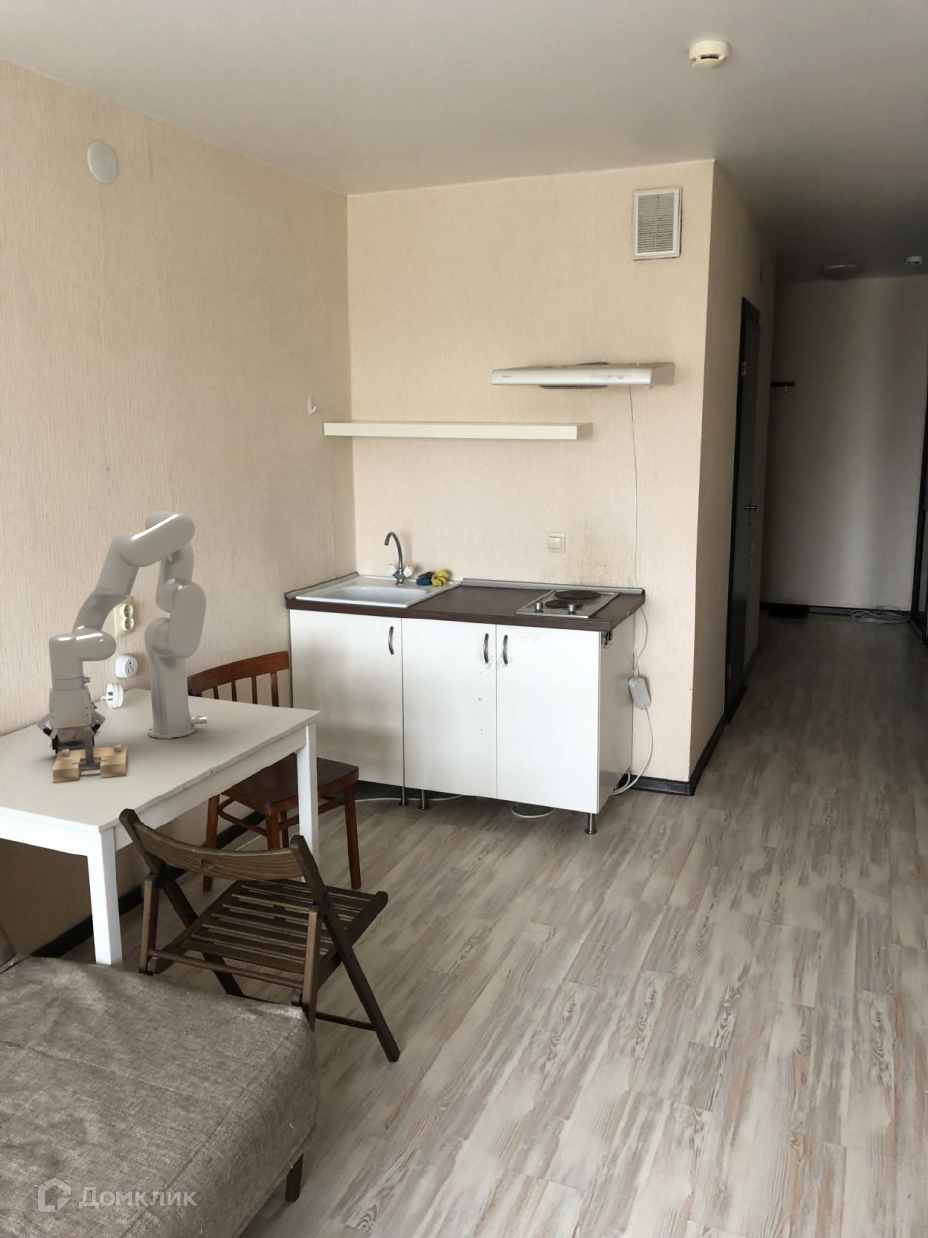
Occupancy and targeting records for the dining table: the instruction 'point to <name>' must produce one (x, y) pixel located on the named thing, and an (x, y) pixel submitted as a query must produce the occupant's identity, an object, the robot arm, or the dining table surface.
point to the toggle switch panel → (90, 760)
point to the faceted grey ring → (71, 745)
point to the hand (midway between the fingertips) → (73, 750)
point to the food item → (73, 732)
